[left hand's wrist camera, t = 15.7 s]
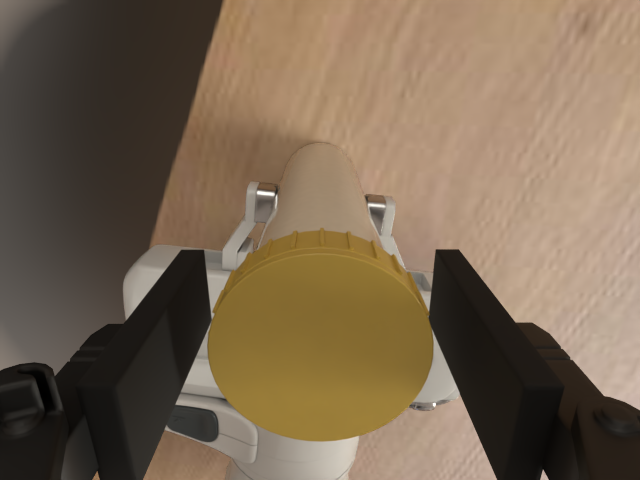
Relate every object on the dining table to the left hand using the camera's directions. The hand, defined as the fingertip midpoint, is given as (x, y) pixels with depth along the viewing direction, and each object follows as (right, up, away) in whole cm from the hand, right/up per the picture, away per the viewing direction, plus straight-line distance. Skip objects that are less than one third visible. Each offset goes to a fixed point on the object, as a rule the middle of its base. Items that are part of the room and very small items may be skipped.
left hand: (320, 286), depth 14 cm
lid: (0, -1, -3) cm, 3 cm away
